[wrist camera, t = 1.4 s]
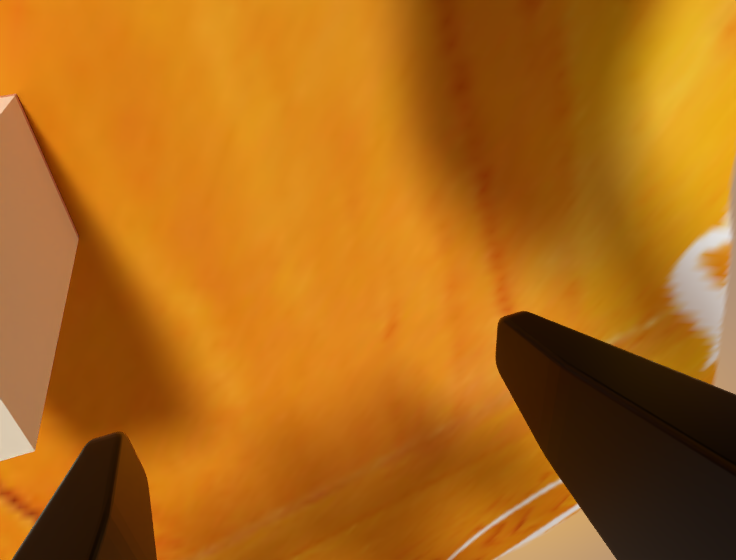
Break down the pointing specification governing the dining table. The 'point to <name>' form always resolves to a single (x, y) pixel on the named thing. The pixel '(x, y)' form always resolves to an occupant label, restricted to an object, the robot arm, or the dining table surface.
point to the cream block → (28, 278)
